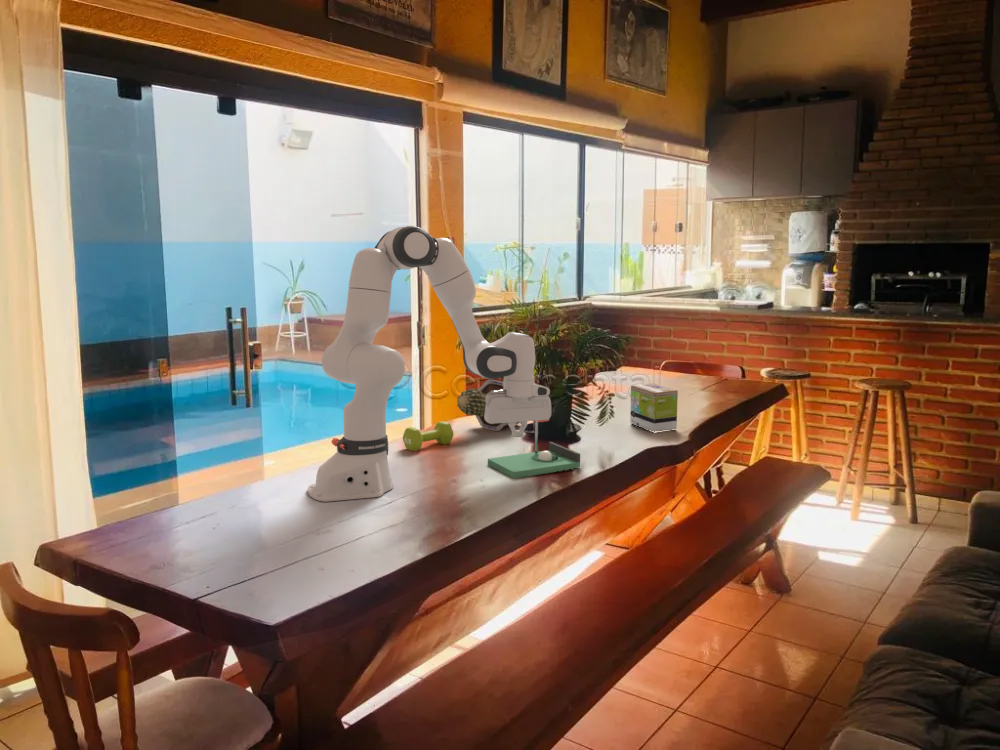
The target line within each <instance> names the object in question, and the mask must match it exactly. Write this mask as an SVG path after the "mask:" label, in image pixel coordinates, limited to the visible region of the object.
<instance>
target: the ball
mask: <svg viewBox="0 0 1000 750" xmlns="http://www.w3.org/2000/svg"><path fill="white" fill-rule="evenodd" d="M539 460H543V461H551V460H552V455H551V453H550V452H549V451H547V450H542V452H541V453H540V454H539Z"/></svg>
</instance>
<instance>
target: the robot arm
mask: <svg viewBox="0 0 1000 750" xmlns="http://www.w3.org/2000/svg"><path fill="white" fill-rule="evenodd" d="M414 268H419V269H422V271H423V272H424V273H425V274H426V276H427V277H428V278H427V279H429V283H430V285H431V287H432V289H433V292H434V293H435V294H436V296H437V298H438V300H439V302H440V303H441V305H442V306H443V308H444V309H445V310H446V312H447V314H448V316H449V317H450V319H451V322H452V324H453V326H454V329H455V330H456V334H457V335H458V339H459V340H460V343H461V347H462V360H463V365H464V367H465V368H466V369H467V371H468V372H469V373H471V374H472V375H474V376H480V377H482V378H485V379H487V380H495V379H499V378H500V379H501V378H503V390H498V391H495V390H493V391H490V392H489V393H488V394H487V395H486V400H485V402H486V406H485V414H484V419H485V420H486V422H488V423H490V424H495V423H508V425H507V426H508V427H509V429H510V430H511V437H512V438H523V437H524V431H525V429H526V428H527V426H528V422H533V421H534V422H535V421H536V420H548V419H549V420H550V419H551V416H552V401H551V398H550V396H549V395H550V392H551V390H550V389H551V388H549V387H547V386H544V385H541V384H539V383H535V375H534V368H535V365H536V349H535V340H534V339H533V338H532V336H530V335H529V334H525V333H520V332H514V331H509V332H507V333H506V334H505V335H504V336H503V337H501V338H499V339H497V340H495V341H493V342H488V341H487V340H486V338H484V336H483V334H482V332H481V330H480V327H479V325H478V322H477V320H476V318H475V316H474V312H473V302H474V300H475V297H476V293H477V290H476V285H475V282H474V279H473V276H472V273H471V271H470V269H469V267H468V264H467V263H466V261H465V258H463V255H462V254H461V253H460V251H459V249H458V248H457V246H456V245H455V244H454V243H453V241H452V240H451V239H450V238H446V237H436V238H435V237H433V236H432V235H431V234H429V233H428V231H426V230H425V229H423V228H421V227H418V226H415V225H409V226H408V225H407V226H401V227H399V226H398V227H397V228H394V229H392V230H390V231H388V232H386V233H384V235H383V236H381V238H380V239H379V241H378V242H377V243H376V245H375V246H374V247H367V248H363V249H361V250H359V251H357V253H356V254H355V257H354V259H353V263H352V266H351V270H350V276H349V282H348V292H347V299H346V309H345V315H344V320H343V322H342V325H341V328H340V329H339V332H338V335H337V336H336V338H335V339H334V340H333V342H332V343H331V344H330V345H328V346H327V347H326V349H325V350H324V352H323V354H322V357H321V358H322V359H321V366H322V370H323V371H324V373H325V374H326V376H328V377H329V378H331V379H333V380H336V381H337V382H340V383H343V384H344V383H345V384H351V385H355V391H354V394H353V398H352V400H350V401H349V402H348V403H346V404H345V405H344V408H343V411H342V414H343V415H342V416H343V418H342V421H343V436H342V437H341V438H340V439H339V438H338V437H333V438H332V439H331V441H330V443H331V444H332V445H333V446H334V447H336V453H334V454H333V455H332V456H331V457H329V458H328V459H327V460H326V461H325V462H323V463H322V464H321V465H320V466H319V467H318V469H317V471H316V479H315V483H312V484H310V485H308V487H307V494H308V496H310V498H312V499H314V500H316V501H319V502H323V503H325V502H326V503H327V502H334V501H335V502H337V501H338V502H339V501H347V500H357V499H367V498H368V499H369V498H379V497H381V496H383V495H384V494H385V493H386V492H389V491H390V490H392V489H393V488H394V486H395V485H394V483H393V480H392V476H391V472H390V467H389V460H388V459H389V458H388V455H389V439H388V435H387V427H386V426H387V425H386V424H387V419H386V418H387V405H388V401H389V398H390V395H391V393H392V391H393V389H394V388H395V387H396V386H397V385H398V384H399V383H400V382H401V380H402V378H403V377H404V374H405V370H406V363H405V359H404V356H403V355H402V354H401V352H400V351H398V350H397V349H393V348H391V347H388V346H385V345H382V344H380V345H379V344H373V342H374V340H375V337H376V336H377V333H378V332H379V331H380V330H381V329H382V328H383V327H385V326H386V325H387V324H388V323H389V318H390V310H391V309H390V308H391V307H390V306H391V295H392V282H393V278H394V276H395V274H396V272H397V271H399V270H411V269H414ZM489 394H490V395H489ZM516 422H520V423H519V425H520V426H519V428H518V429H516V426H517V425H516Z"/></svg>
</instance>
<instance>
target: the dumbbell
mask: <svg viewBox="0 0 1000 750" xmlns="http://www.w3.org/2000/svg"><path fill="white" fill-rule="evenodd" d="M453 438H454V431H453V428H452V425H451V423H450V422H447V421H443V420H442V421H441V420H440V421H439V422H436V423H435V426H434V428H433V430H426V431H423V432H421V430H420V429H419V428H416V427H412V426H411V427H410V426H409V427H406V428H405V429H404V433H403V434H402V440H403V444H404V447H405V449H407V450H409V451H411V452H417V451H419V450H420V449H421V447H422V445H423V443H424V442H425V443H426V442H430V441H434V440H436V441H437V443H438V444H441V445H450V443H451V442H452V441H453Z"/></svg>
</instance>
